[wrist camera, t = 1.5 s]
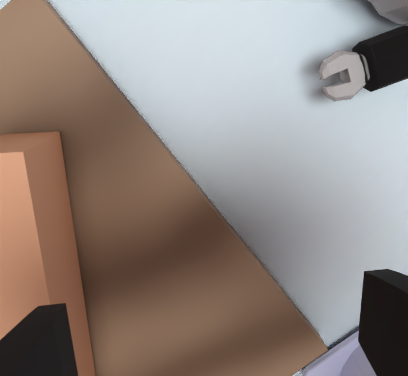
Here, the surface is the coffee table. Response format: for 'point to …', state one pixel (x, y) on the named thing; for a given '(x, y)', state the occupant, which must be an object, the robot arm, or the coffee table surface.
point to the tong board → (143, 224)
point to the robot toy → (371, 57)
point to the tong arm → (39, 238)
